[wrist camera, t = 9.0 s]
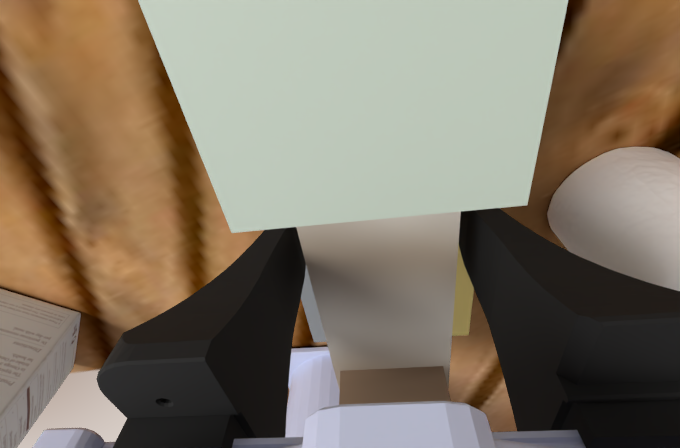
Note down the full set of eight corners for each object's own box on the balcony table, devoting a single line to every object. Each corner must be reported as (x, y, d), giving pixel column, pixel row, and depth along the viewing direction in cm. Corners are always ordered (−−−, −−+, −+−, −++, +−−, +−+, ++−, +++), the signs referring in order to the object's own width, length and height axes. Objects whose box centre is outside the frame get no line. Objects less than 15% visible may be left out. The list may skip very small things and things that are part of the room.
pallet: (427, 335, 20) (445, 426, 16) (350, 340, 21) (349, 429, 17) (431, -155, 9) (493, -257, 5) (259, -120, 9) (186, -185, 5)
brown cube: (440, 416, 16) (461, 531, 13) (352, 419, 16) (351, 530, 13) (442, 365, 14) (470, 490, 10) (340, 370, 14) (335, 491, 11)
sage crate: (456, 106, 8) (527, 205, 5) (280, 128, 8) (231, 233, 5) (469, -151, 5) (631, -319, 2) (223, -100, 6) (65, -180, 3)
